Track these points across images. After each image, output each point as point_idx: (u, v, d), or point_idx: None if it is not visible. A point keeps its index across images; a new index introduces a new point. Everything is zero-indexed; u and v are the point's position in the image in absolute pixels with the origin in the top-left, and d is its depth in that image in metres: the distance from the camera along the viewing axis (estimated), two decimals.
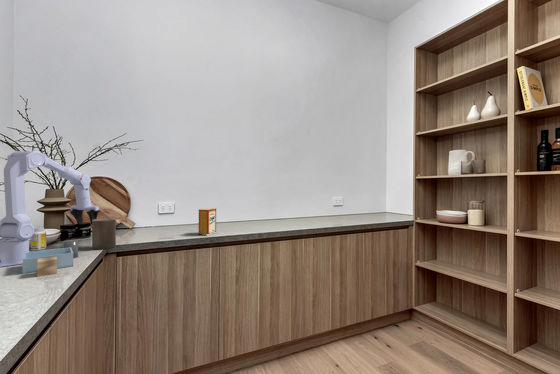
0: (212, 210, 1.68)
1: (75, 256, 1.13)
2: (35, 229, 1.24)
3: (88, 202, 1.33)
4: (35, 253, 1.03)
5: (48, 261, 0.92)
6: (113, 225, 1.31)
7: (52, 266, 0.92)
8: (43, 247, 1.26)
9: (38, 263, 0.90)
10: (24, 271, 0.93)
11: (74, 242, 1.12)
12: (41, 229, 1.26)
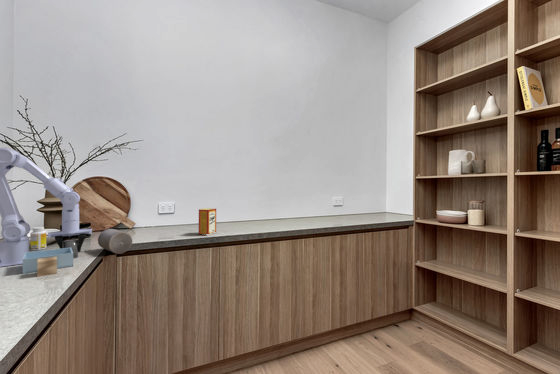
0: (212, 210, 1.68)
1: (75, 256, 1.13)
2: (35, 229, 1.24)
3: (62, 226, 1.11)
4: (35, 253, 1.03)
5: (48, 261, 0.92)
6: None
7: (52, 266, 0.92)
8: (43, 247, 1.26)
9: (38, 263, 0.90)
10: (24, 271, 0.93)
11: (74, 242, 1.12)
12: (41, 229, 1.26)
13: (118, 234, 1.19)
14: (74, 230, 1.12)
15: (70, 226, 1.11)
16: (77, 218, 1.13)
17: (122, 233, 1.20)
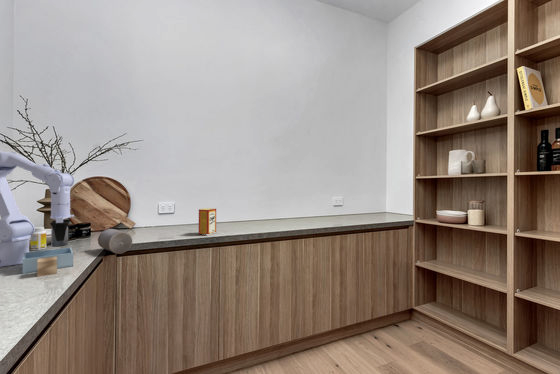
0: (212, 210, 1.68)
1: None
2: (35, 229, 1.24)
3: (59, 211, 1.02)
4: (35, 253, 1.03)
5: (48, 261, 0.92)
6: None
7: (52, 266, 0.92)
8: (43, 247, 1.26)
9: (38, 263, 0.90)
10: (24, 271, 0.93)
11: None
12: (41, 229, 1.26)
13: (118, 234, 1.19)
14: None
15: None
16: (63, 202, 1.02)
17: (122, 233, 1.20)
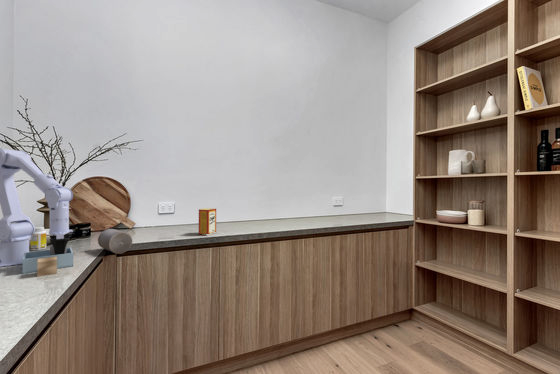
0: (212, 210, 1.68)
1: None
2: (35, 229, 1.24)
3: (59, 226, 1.01)
4: (35, 253, 1.03)
5: (48, 261, 0.92)
6: None
7: (52, 266, 0.92)
8: (43, 247, 1.26)
9: (38, 263, 0.90)
10: (24, 271, 0.93)
11: None
12: (41, 229, 1.26)
13: (118, 234, 1.19)
14: None
15: (68, 223, 1.05)
16: (61, 217, 1.01)
17: (122, 233, 1.20)
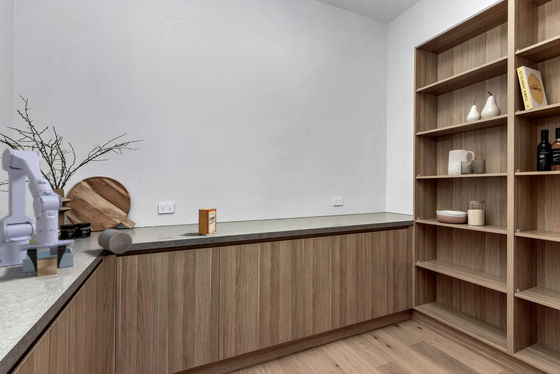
0: (212, 210, 1.68)
1: None
2: (35, 229, 1.24)
3: (36, 237, 0.91)
4: None
5: (48, 261, 0.92)
6: None
7: (52, 266, 0.92)
8: None
9: (38, 263, 0.90)
10: (24, 271, 0.93)
11: None
12: None
13: (118, 234, 1.19)
14: (51, 242, 0.92)
15: (47, 236, 0.91)
16: (45, 228, 0.91)
17: (122, 233, 1.20)
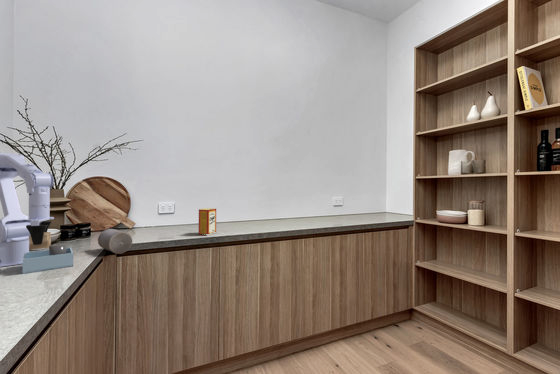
0: (212, 210, 1.68)
1: None
2: None
3: (37, 213, 0.96)
4: (35, 253, 1.03)
5: (48, 233, 1.00)
6: None
7: (49, 238, 1.01)
8: None
9: (47, 235, 0.98)
10: (24, 271, 0.93)
11: None
12: None
13: (118, 234, 1.19)
14: None
15: (49, 210, 1.00)
16: (38, 203, 0.96)
17: (122, 233, 1.20)
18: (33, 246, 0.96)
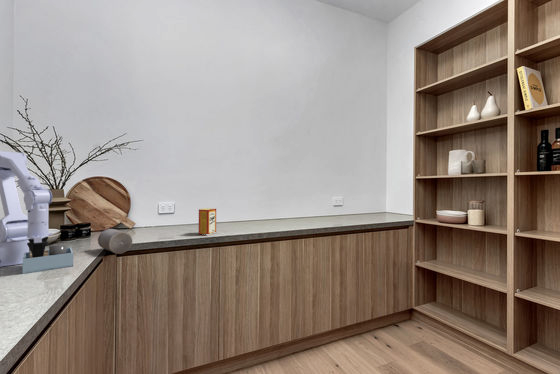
0: (212, 210, 1.68)
1: None
2: None
3: (37, 229, 0.97)
4: None
5: (47, 252, 1.01)
6: None
7: None
8: None
9: None
10: (24, 271, 0.93)
11: None
12: None
13: (118, 234, 1.19)
14: None
15: None
16: (37, 220, 0.97)
17: (122, 233, 1.20)
18: None
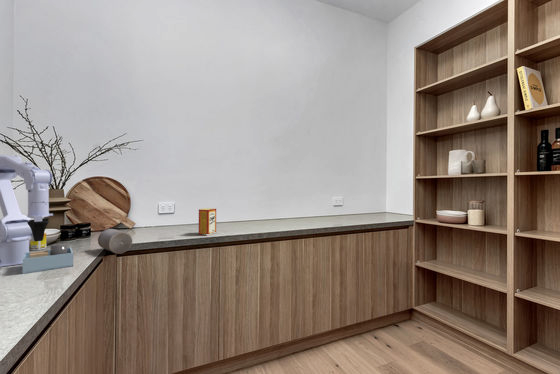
0: (212, 210, 1.68)
1: None
2: None
3: (37, 209, 0.97)
4: None
5: (47, 252, 1.01)
6: None
7: None
8: (43, 247, 1.26)
9: None
10: (24, 271, 0.93)
11: None
12: None
13: (118, 234, 1.19)
14: None
15: (48, 207, 1.01)
16: (37, 200, 0.97)
17: (122, 233, 1.20)
18: None
